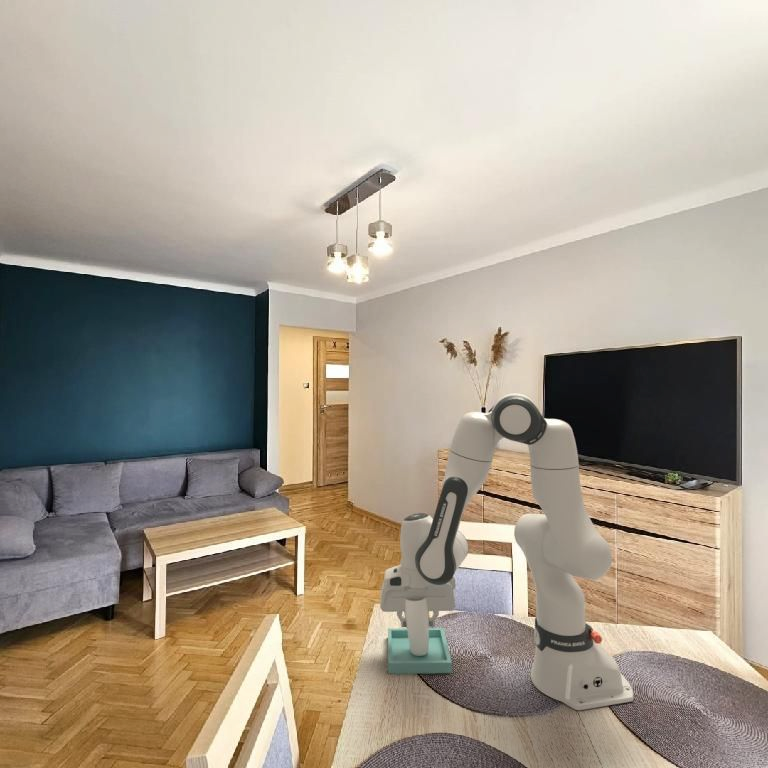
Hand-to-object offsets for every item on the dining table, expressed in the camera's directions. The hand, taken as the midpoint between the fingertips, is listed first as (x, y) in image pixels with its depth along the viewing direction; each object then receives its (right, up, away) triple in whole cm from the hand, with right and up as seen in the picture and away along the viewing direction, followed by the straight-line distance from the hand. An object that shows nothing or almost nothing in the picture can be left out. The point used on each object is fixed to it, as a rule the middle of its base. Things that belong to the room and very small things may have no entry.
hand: (417, 626), depth 118 cm
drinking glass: (0, -7, 0) cm, 7 cm away
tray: (0, -8, 0) cm, 8 cm away
